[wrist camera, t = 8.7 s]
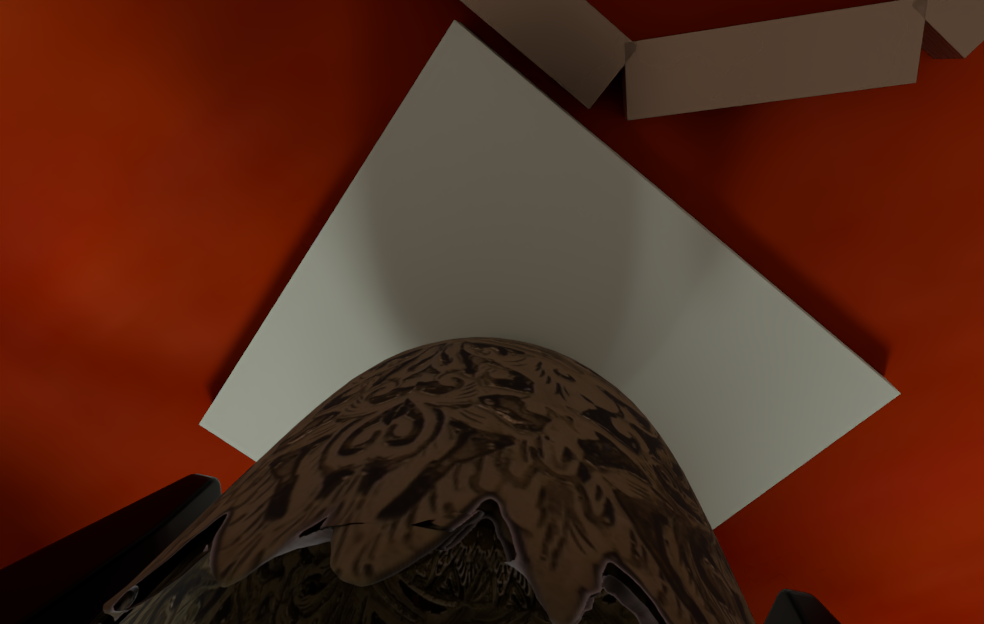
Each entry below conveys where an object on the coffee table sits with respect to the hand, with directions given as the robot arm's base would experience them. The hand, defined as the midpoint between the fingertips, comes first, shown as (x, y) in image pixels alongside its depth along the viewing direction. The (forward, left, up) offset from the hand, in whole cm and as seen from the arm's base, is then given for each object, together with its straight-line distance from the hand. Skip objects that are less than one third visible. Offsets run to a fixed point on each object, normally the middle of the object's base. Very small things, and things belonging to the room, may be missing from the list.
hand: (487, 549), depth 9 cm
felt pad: (0, 0, -4) cm, 4 cm away
